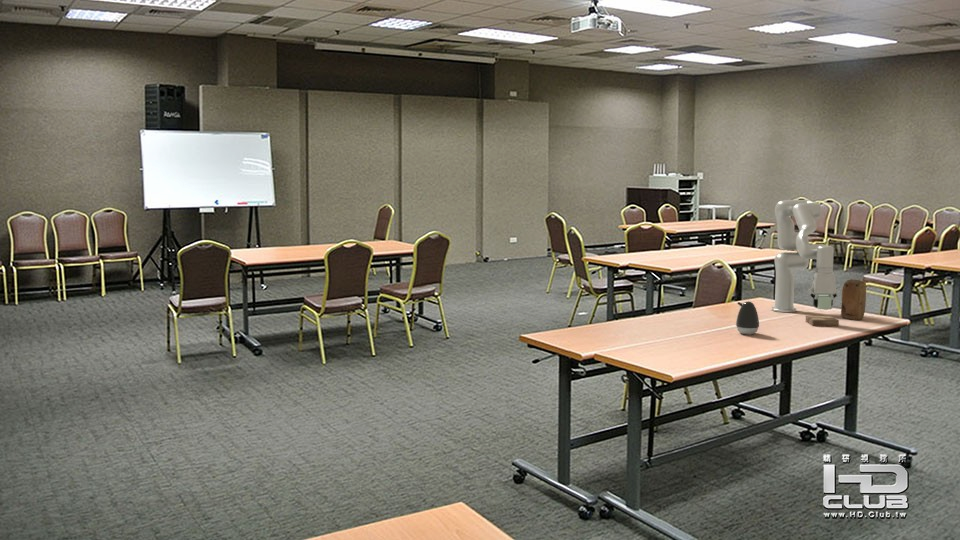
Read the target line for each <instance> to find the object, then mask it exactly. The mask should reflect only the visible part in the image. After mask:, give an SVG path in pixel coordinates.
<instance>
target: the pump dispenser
mask: <svg viewBox="0 0 960 540" xmlns="http://www.w3.org/2000/svg"><path fill="white" fill-rule="evenodd" d="M737 305H739V306H740V308H739V310H738V313H737V317H736V322H735V326H736V328H737V331H738V332H739V333H740V334H742V335H747V336H748V335H749V336H750V335H754V334H756V333H757V332H758V330H759V328H760V321H759V319H760V318H759V314H758V311H757V308H756V306H755V304H754V303H753V302H751V301H745V302H743V303H742V302H740V301H737Z"/></svg>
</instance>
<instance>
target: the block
mask: <svg viewBox="0 0 960 540" xmlns="http://www.w3.org/2000/svg"><path fill="white" fill-rule="evenodd" d="M843 283H844V284H843V286H842V290H841V307H840V317H841V318H843V319H848V320H854V321H861V320H863V319H864V317H865V316H864V315H865V312H866V301H867V282H866V281H865V280H860V279H848V280H846V281H845V282H843Z"/></svg>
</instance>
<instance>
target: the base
mask: <svg viewBox="0 0 960 540" xmlns="http://www.w3.org/2000/svg"><path fill="white" fill-rule="evenodd" d="M805 323H806V324H809V325H810V326H812V327H836V328H838V327H839V325H840V324H839V323H840V320H839V319H836V318H835V317H833V316H831V315H805Z"/></svg>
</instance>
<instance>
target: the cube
mask: <svg viewBox="0 0 960 540" xmlns="http://www.w3.org/2000/svg"><path fill="white" fill-rule="evenodd" d="M817 300H818V307H814V308H816V309H818V310H832V307H831V302H832V297H830V296H829V295H828V294H819V295H818V297H817Z"/></svg>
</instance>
